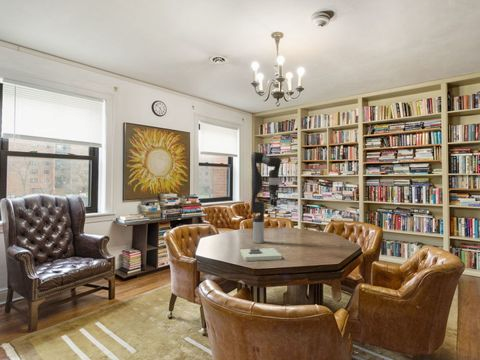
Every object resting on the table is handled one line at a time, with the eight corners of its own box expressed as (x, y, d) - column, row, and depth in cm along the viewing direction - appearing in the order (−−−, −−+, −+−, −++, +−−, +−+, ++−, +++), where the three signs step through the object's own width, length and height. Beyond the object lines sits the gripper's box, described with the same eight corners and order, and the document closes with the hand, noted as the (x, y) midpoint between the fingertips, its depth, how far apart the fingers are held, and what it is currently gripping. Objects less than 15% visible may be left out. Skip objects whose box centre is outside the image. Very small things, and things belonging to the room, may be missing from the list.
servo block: (247, 255, 190) (247, 247, 190) (260, 255, 191) (260, 246, 191) (248, 257, 186) (248, 248, 186) (261, 256, 187) (261, 248, 187)
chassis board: (240, 252, 197) (240, 249, 197) (273, 251, 201) (273, 247, 201) (245, 260, 178) (245, 256, 178) (281, 259, 181) (281, 255, 181)
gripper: (266, 184, 215) (266, 205, 215) (271, 184, 201) (271, 206, 201) (275, 184, 216) (276, 205, 216) (281, 184, 202) (281, 206, 202)
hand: (273, 205), depth 208 cm, fingers open, 8 cm apart
